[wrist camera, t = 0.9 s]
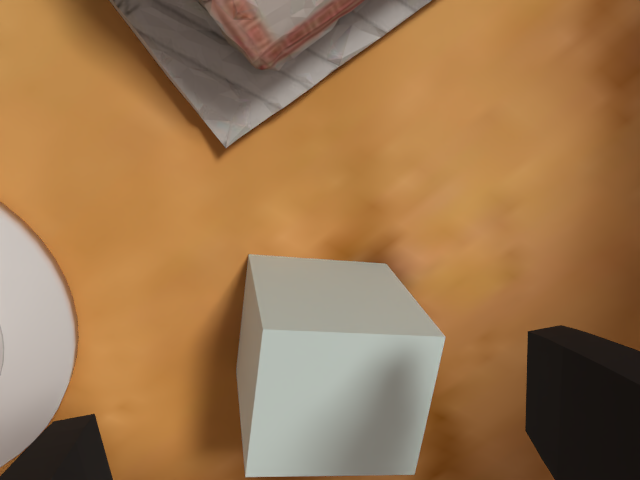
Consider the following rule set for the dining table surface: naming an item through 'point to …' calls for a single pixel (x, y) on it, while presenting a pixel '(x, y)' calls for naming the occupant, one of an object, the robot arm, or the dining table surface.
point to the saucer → (31, 335)
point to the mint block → (332, 369)
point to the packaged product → (255, 49)
